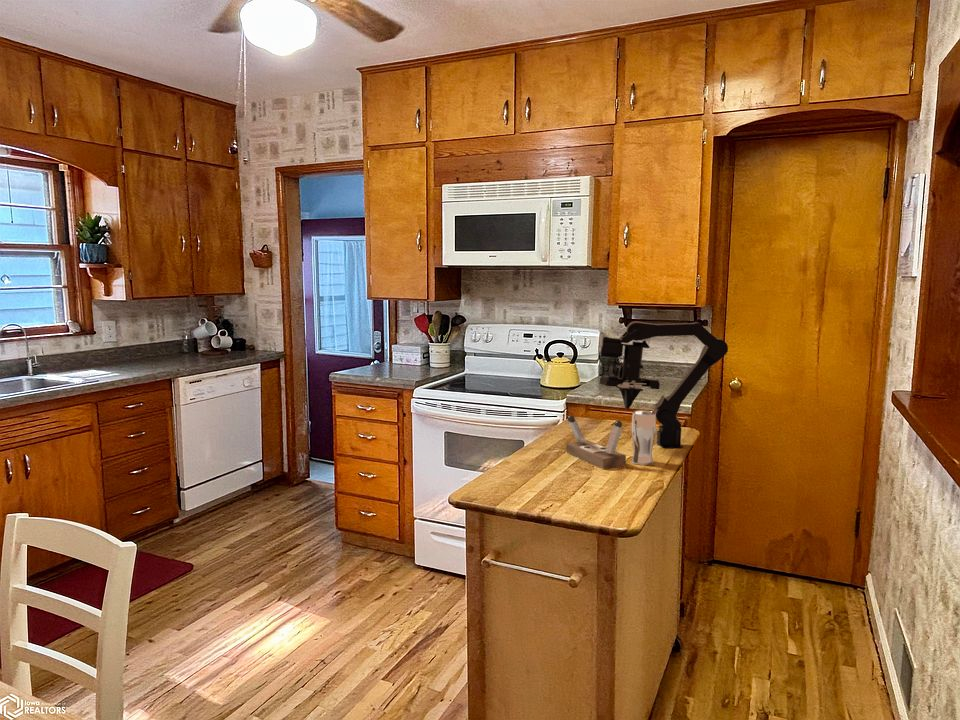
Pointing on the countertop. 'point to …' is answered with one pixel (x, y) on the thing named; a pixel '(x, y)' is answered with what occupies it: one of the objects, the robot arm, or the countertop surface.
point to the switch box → (596, 454)
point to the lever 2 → (614, 437)
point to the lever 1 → (576, 429)
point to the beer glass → (643, 436)
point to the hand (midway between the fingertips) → (626, 408)
